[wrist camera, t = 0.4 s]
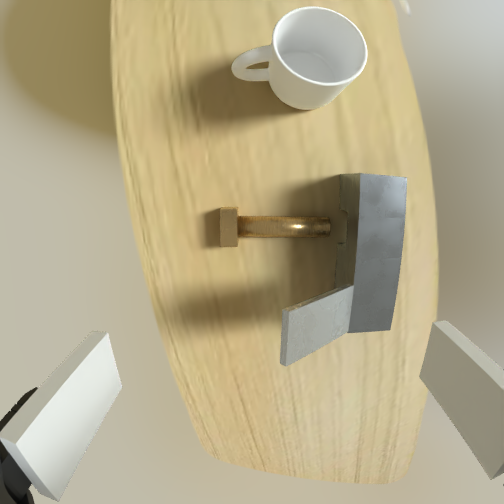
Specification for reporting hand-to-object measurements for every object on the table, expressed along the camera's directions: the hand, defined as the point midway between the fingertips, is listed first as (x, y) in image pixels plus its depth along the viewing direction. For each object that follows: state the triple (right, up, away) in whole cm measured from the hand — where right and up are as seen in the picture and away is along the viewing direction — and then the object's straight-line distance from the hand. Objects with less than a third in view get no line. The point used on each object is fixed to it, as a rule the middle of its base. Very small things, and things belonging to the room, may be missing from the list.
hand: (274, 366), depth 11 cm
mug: (+3, +24, +20) cm, 31 cm away
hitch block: (+12, +5, +24) cm, 27 cm away
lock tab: (+5, -2, +16) cm, 16 cm away
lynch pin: (+2, +7, +24) cm, 25 cm away
